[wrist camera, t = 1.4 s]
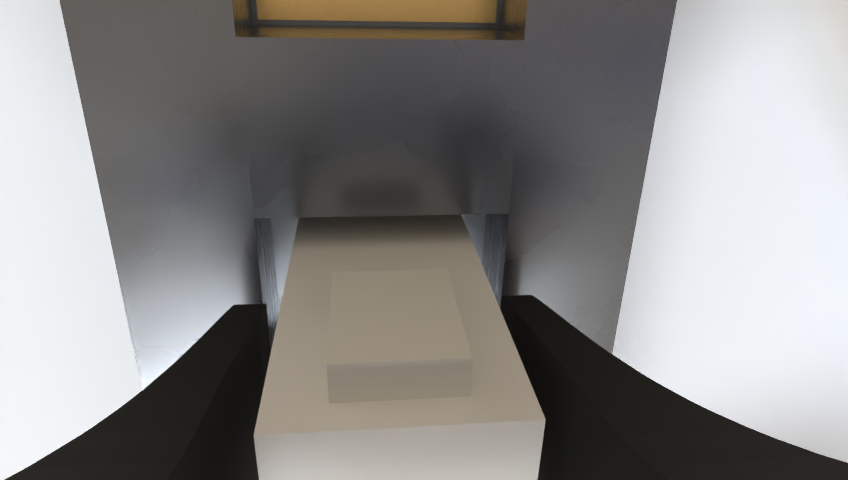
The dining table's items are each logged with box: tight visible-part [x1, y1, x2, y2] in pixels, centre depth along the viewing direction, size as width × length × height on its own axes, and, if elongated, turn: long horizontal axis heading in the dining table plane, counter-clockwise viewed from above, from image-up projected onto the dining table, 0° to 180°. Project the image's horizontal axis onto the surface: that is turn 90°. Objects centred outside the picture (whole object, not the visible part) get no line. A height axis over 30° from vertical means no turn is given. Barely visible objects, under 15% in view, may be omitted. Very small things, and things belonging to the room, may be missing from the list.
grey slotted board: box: [60, 0, 677, 390], centre depth 14 cm, size 10×24×2 cm, turn 179°
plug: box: [254, 215, 546, 480], centre depth 11 cm, size 4×4×7 cm
